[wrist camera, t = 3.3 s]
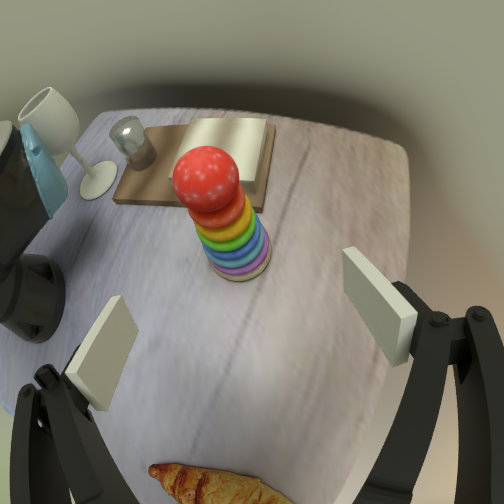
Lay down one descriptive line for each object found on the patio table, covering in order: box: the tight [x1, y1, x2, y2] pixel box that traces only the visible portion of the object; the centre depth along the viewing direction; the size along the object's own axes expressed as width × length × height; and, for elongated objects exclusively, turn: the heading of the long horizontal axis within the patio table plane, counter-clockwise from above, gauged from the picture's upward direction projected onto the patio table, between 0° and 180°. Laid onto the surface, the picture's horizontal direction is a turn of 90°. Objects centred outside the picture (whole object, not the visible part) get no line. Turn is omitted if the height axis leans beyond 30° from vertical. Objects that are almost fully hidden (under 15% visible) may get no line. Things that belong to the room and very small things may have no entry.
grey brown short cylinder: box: [109, 116, 157, 171], centre depth 38 cm, size 5×5×8 cm
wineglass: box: [18, 87, 117, 200], centre depth 33 cm, size 9×9×21 cm
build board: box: [112, 118, 276, 213], centre depth 39 cm, size 24×16×4 cm, turn 81°
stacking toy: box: [172, 146, 271, 281], centre depth 26 cm, size 8×8×19 cm
